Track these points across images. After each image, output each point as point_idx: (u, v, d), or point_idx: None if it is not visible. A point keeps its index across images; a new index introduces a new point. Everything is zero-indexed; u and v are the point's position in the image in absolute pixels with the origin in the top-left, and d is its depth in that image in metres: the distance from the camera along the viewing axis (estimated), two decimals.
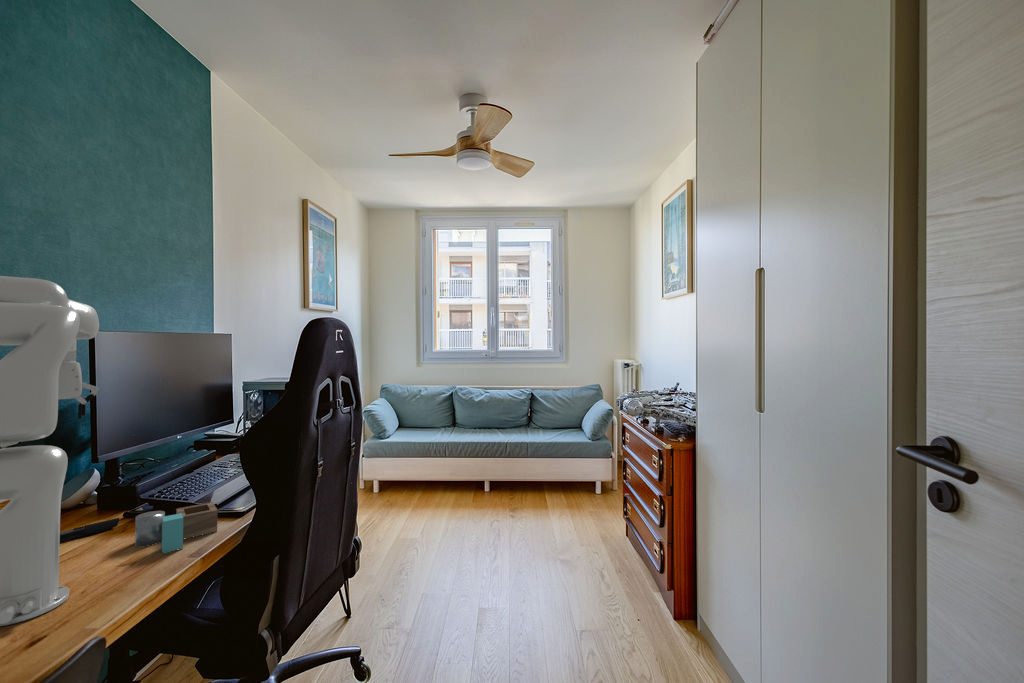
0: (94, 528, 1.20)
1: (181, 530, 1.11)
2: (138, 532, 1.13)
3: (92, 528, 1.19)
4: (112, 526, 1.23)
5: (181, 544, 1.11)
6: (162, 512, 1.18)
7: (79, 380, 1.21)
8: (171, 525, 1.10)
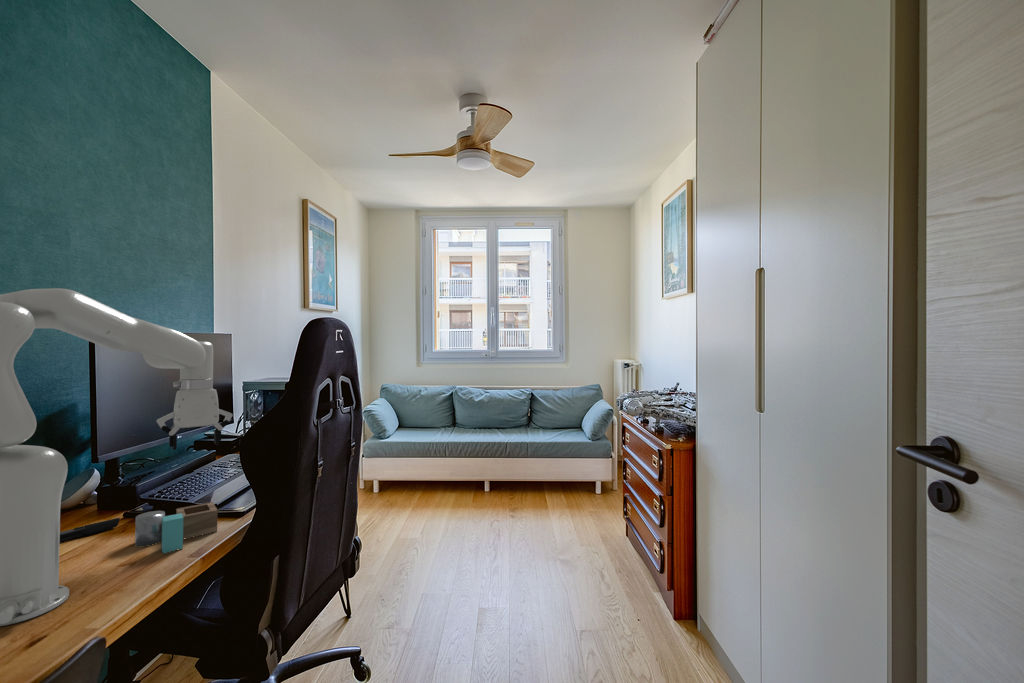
0: (94, 528, 1.20)
1: (181, 530, 1.11)
2: (138, 532, 1.13)
3: (92, 528, 1.19)
4: (112, 526, 1.23)
5: (181, 544, 1.11)
6: (162, 512, 1.18)
7: (217, 407, 1.24)
8: (171, 525, 1.10)
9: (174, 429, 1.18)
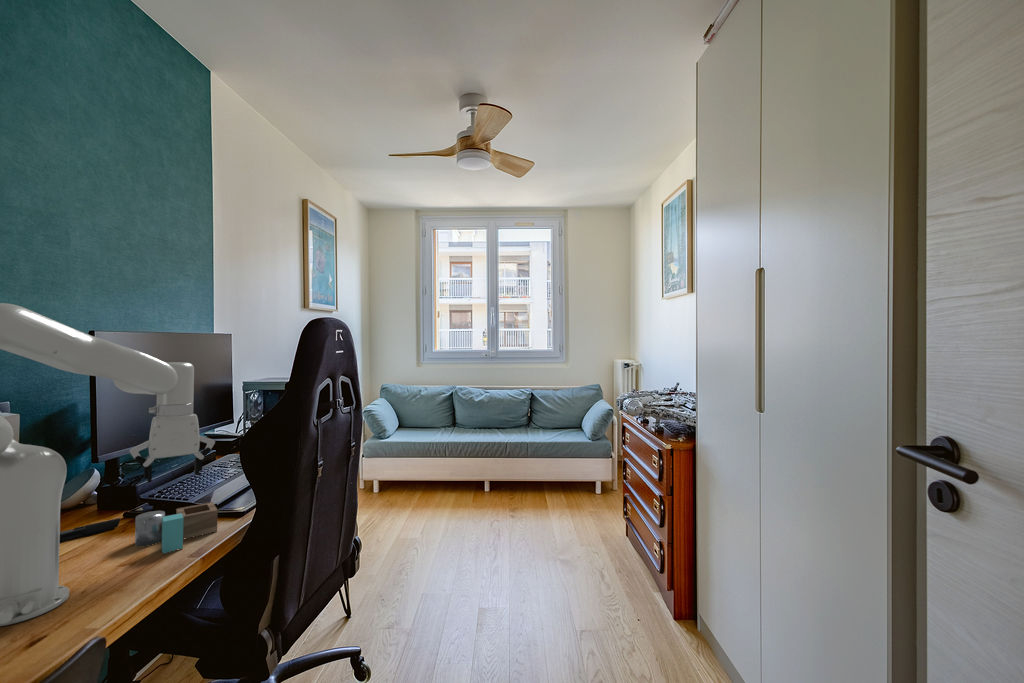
0: (94, 528, 1.20)
1: (181, 530, 1.11)
2: (138, 532, 1.13)
3: (92, 528, 1.20)
4: (112, 526, 1.23)
5: (181, 544, 1.11)
6: (162, 512, 1.18)
7: (198, 434, 1.13)
8: (171, 525, 1.10)
9: (149, 459, 1.08)
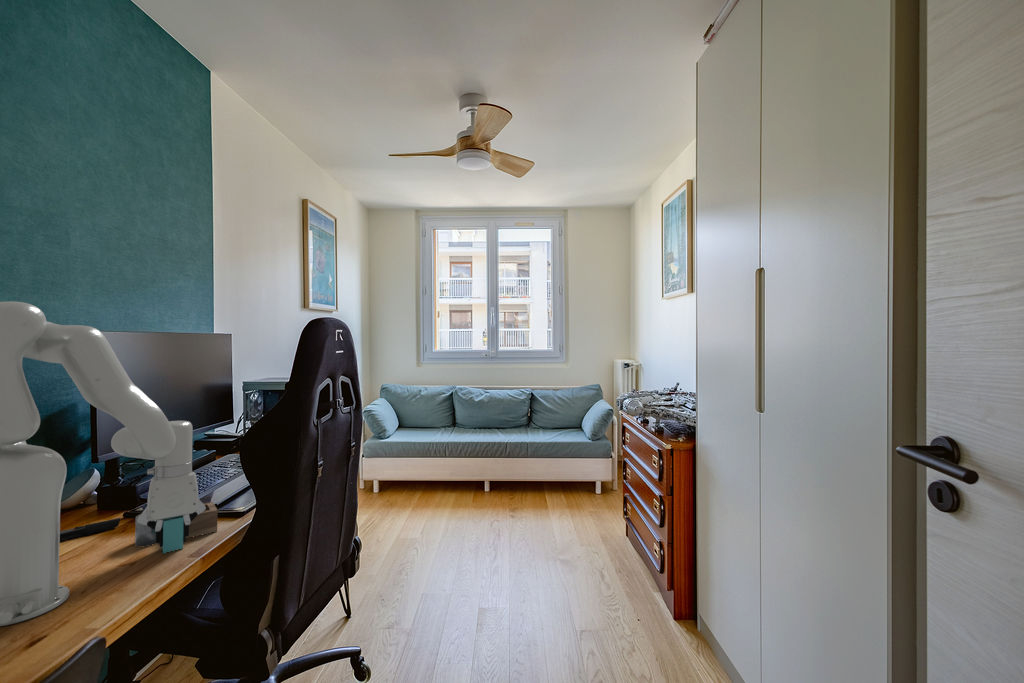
0: (94, 528, 1.20)
1: (181, 530, 1.11)
2: (138, 532, 1.13)
3: (92, 528, 1.20)
4: (113, 526, 1.23)
5: (181, 544, 1.11)
6: None
7: (196, 493, 1.13)
8: (171, 525, 1.10)
9: (158, 524, 1.09)
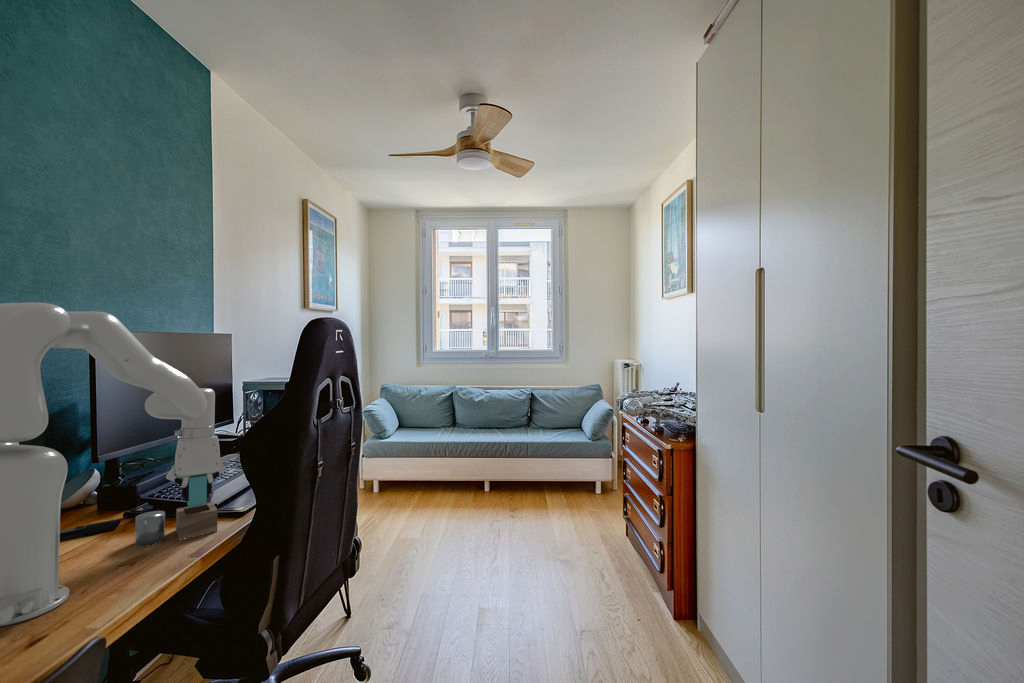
0: (94, 528, 1.20)
1: (205, 487, 1.22)
2: (138, 532, 1.13)
3: (92, 528, 1.20)
4: (113, 527, 1.22)
5: (205, 500, 1.22)
6: (162, 512, 1.18)
7: (218, 454, 1.24)
8: (196, 482, 1.21)
9: (184, 481, 1.19)
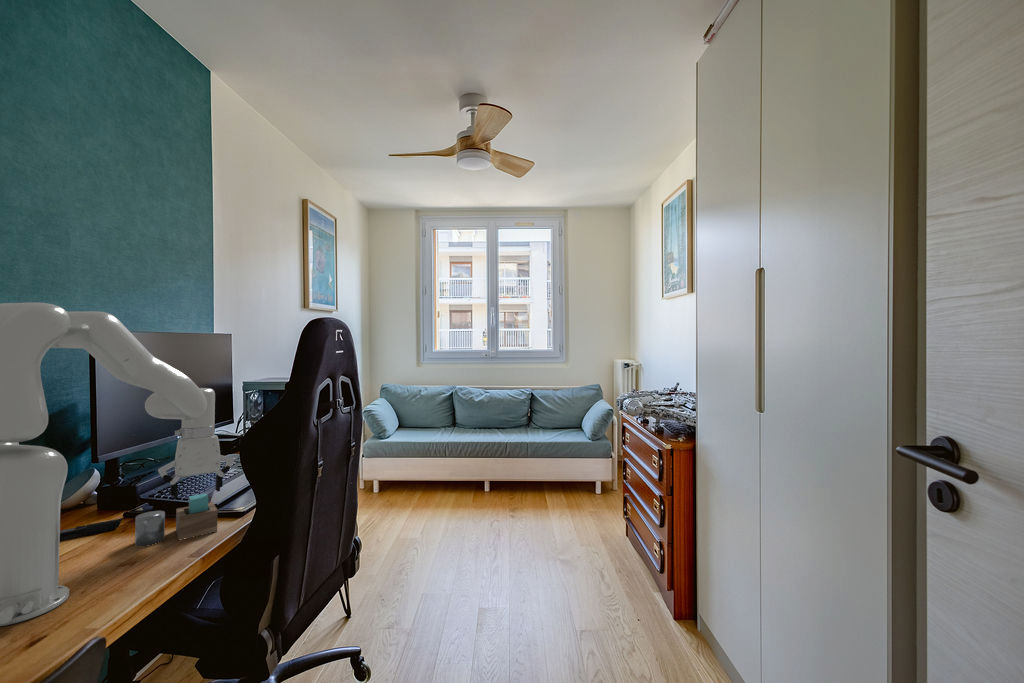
0: (95, 528, 1.20)
1: (206, 508, 1.22)
2: (138, 532, 1.13)
3: (93, 528, 1.20)
4: (113, 527, 1.22)
5: None
6: (162, 512, 1.18)
7: (218, 454, 1.24)
8: (198, 503, 1.21)
9: (175, 478, 1.18)
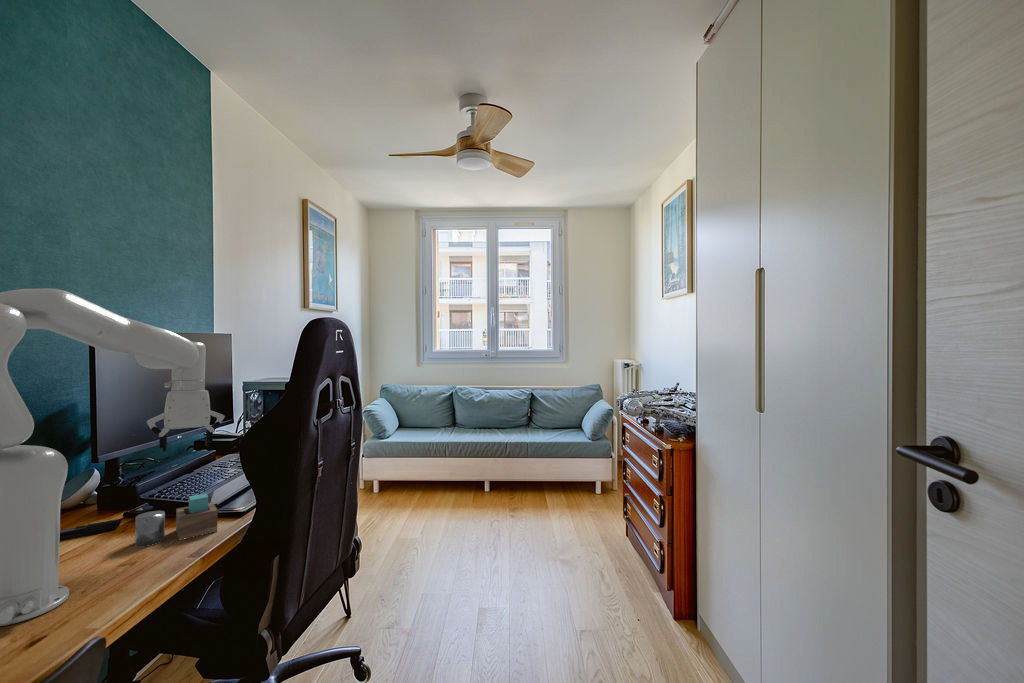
0: (95, 528, 1.20)
1: (206, 508, 1.22)
2: (138, 532, 1.13)
3: (93, 528, 1.20)
4: (113, 527, 1.22)
5: None
6: (162, 512, 1.18)
7: (208, 408, 1.23)
8: (198, 503, 1.21)
9: (164, 430, 1.17)
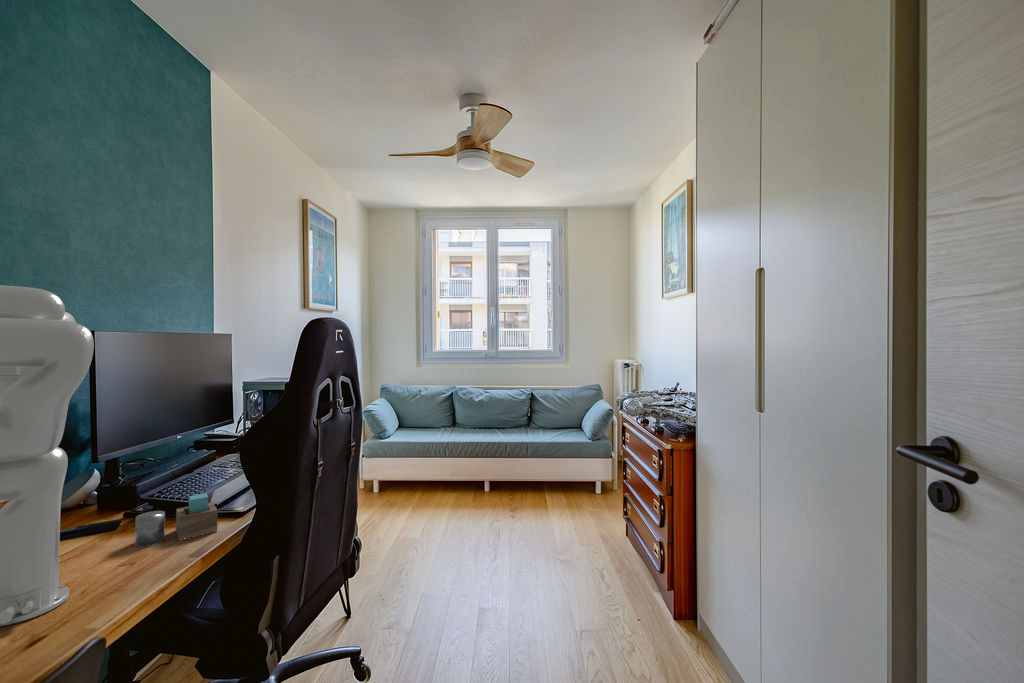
0: (95, 528, 1.20)
1: (206, 508, 1.22)
2: (138, 532, 1.13)
3: (93, 528, 1.20)
4: (113, 527, 1.22)
5: None
6: (162, 512, 1.18)
7: None
8: (198, 503, 1.21)
9: None
